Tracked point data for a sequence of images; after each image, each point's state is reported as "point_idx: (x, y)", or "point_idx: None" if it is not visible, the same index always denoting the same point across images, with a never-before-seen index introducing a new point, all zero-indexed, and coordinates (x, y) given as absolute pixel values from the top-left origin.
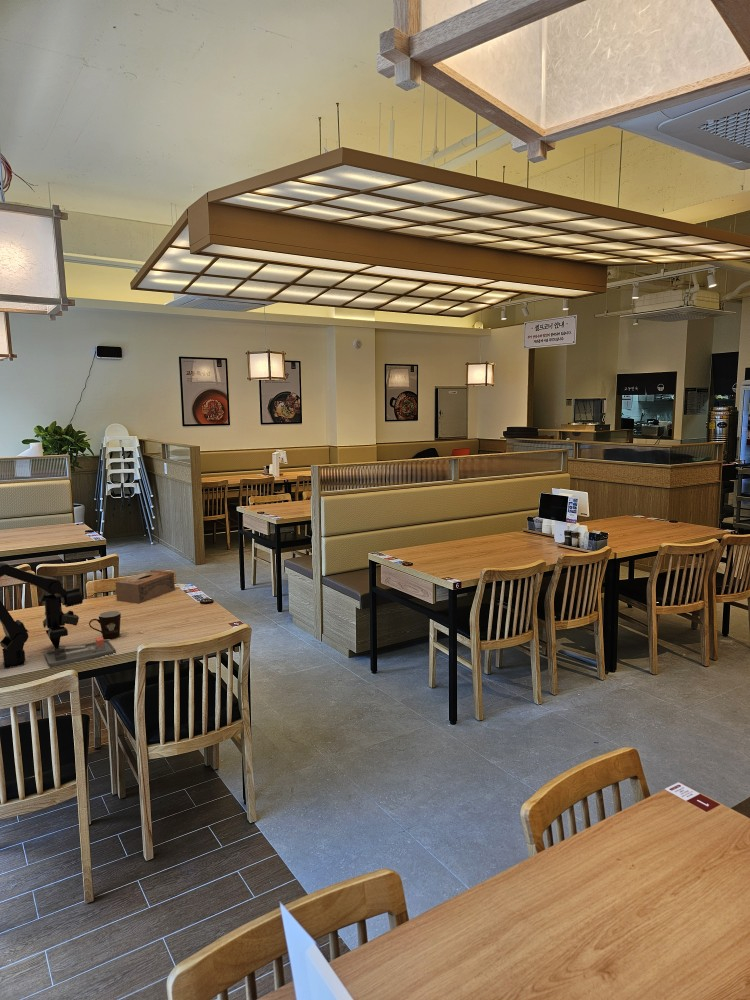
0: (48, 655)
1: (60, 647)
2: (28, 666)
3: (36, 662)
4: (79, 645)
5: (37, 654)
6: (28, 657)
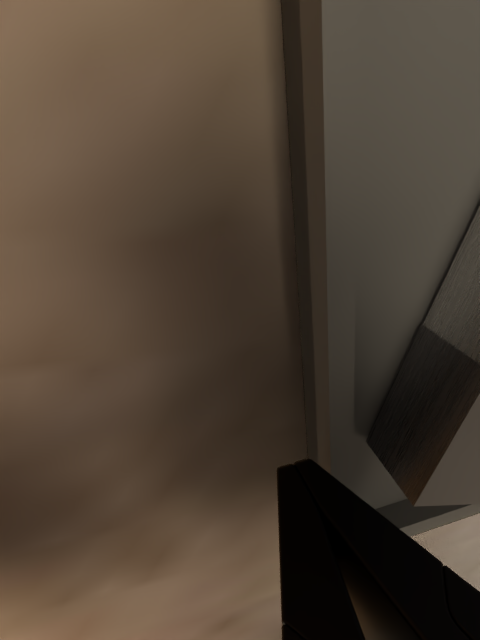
0: (387, 494)
1: (459, 445)
2: (474, 555)
3: (430, 532)
4: (337, 79)
5: (205, 586)
6: (254, 620)
